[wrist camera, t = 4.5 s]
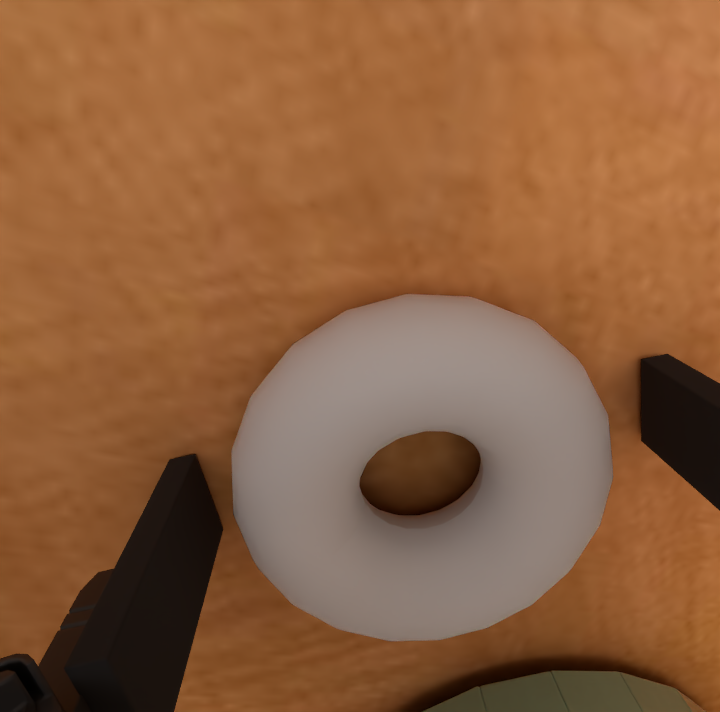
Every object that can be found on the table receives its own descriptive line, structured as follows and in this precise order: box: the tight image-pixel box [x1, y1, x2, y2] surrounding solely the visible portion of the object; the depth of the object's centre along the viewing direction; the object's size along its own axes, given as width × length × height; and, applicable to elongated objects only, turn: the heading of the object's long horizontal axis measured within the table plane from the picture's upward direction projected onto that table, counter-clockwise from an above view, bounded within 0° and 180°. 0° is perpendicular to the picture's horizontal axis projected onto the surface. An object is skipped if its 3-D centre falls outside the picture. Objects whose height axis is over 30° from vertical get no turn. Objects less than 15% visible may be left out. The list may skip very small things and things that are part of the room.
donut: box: [232, 294, 613, 641], centre depth 14 cm, size 10×4×10 cm
